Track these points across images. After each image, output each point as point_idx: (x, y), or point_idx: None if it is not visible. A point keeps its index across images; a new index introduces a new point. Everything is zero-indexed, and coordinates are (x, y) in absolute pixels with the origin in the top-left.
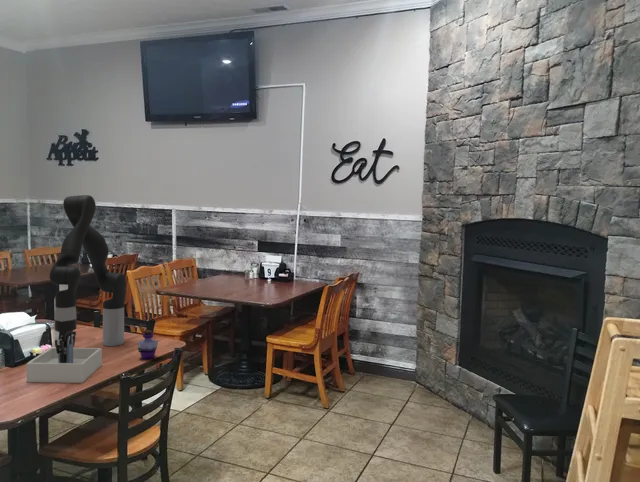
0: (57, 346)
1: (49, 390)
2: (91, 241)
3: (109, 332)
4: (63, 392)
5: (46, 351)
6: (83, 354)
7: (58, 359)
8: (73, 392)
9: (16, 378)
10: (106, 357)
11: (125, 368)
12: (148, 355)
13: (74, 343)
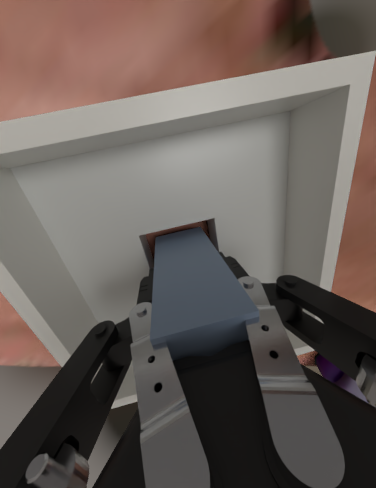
0: (36, 426)
1: (8, 301)
2: None
3: None
4: (23, 343)
5: (257, 92)
6: (295, 275)
7: (155, 262)
8: (40, 361)
9: (28, 48)
10: (347, 269)
11: None
12: (323, 375)
13: (306, 322)
